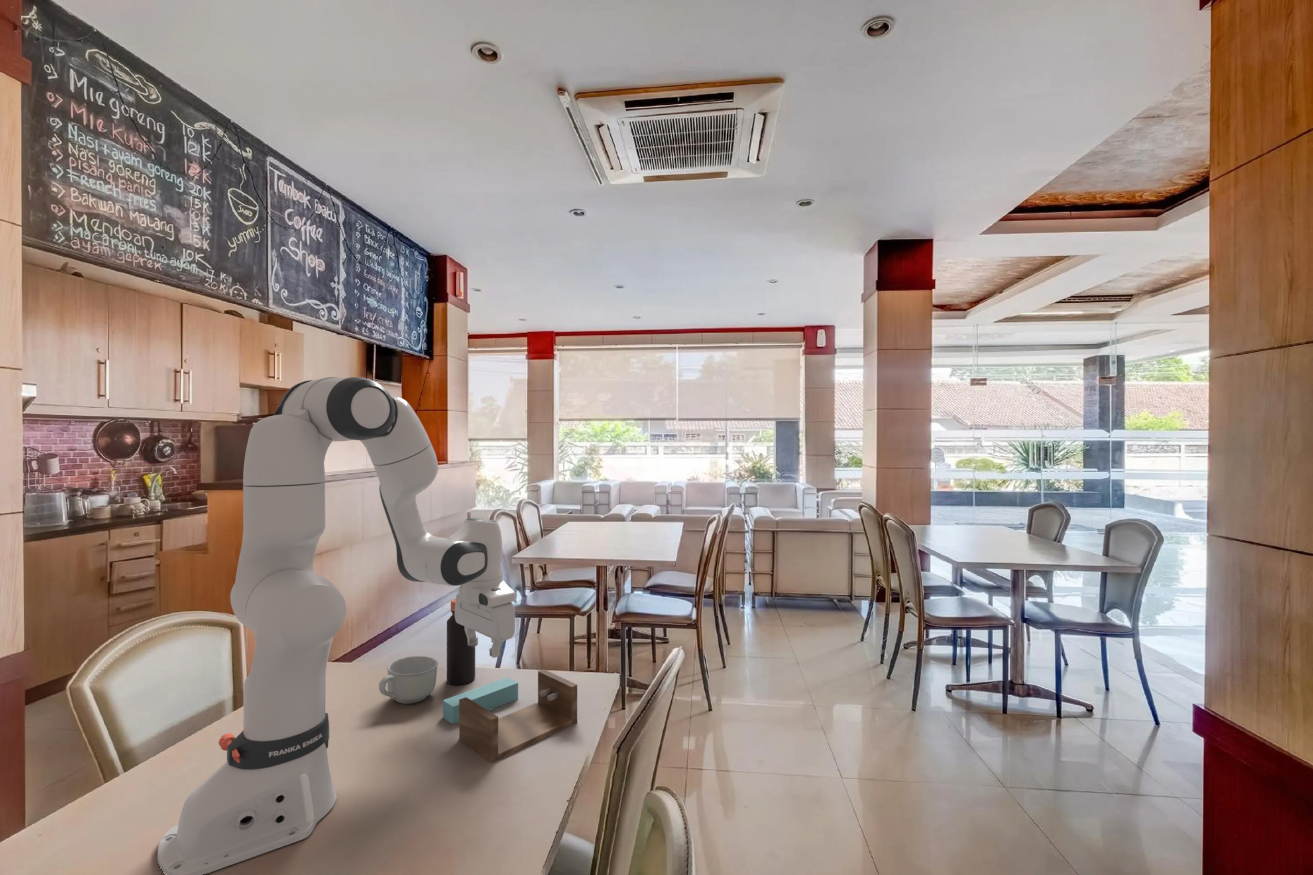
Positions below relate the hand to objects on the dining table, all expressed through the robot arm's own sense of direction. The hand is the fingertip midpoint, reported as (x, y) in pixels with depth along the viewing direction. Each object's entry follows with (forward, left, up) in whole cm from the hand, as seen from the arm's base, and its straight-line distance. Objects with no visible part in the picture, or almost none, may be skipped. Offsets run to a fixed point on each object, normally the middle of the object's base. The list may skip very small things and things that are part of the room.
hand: (483, 650), depth 126 cm
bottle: (+4, +17, -13) cm, 21 cm away
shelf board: (-1, 0, -13) cm, 13 cm away
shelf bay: (0, -15, -13) cm, 20 cm away
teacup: (-10, +16, -13) cm, 23 cm away
